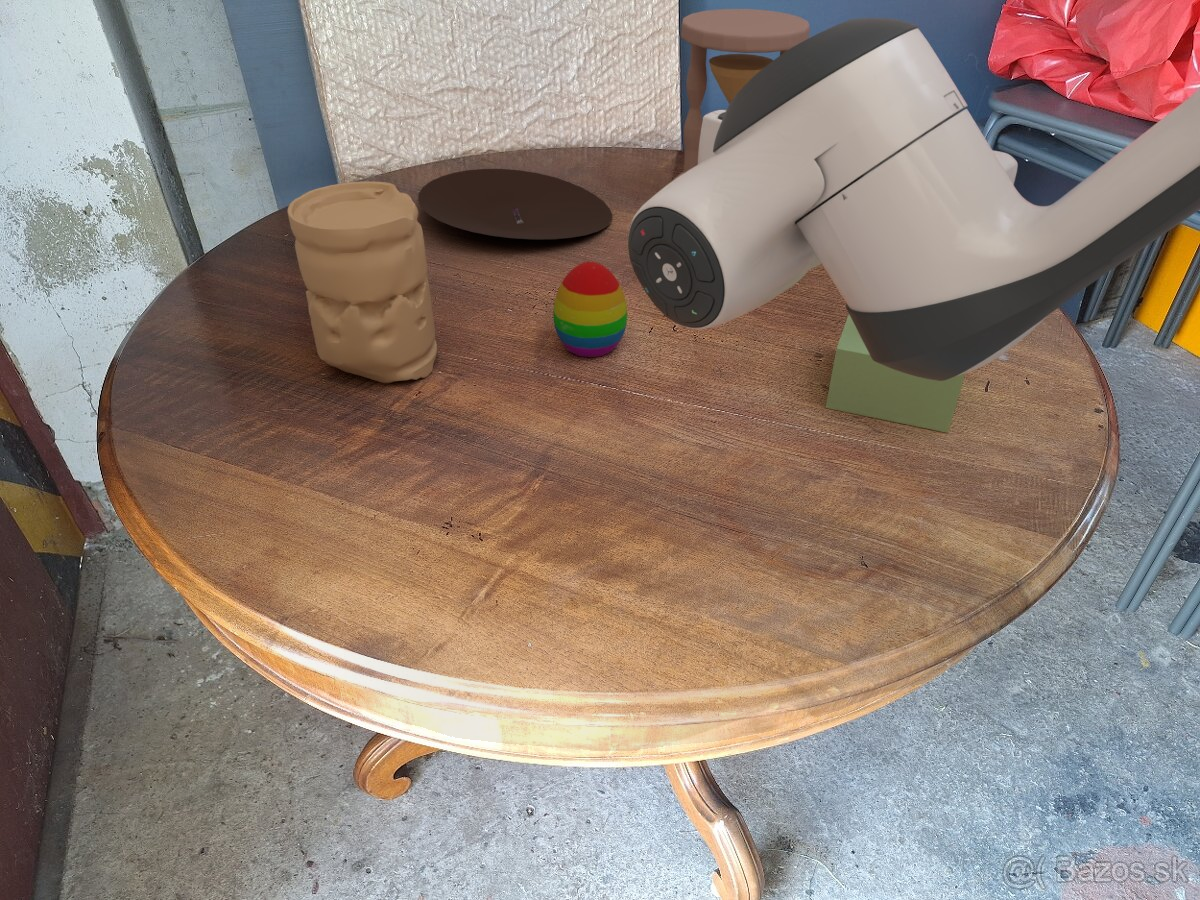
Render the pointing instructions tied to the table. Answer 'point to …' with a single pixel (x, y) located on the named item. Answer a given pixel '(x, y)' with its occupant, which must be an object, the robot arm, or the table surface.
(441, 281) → the table surface
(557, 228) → the plate
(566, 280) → the decorative egg
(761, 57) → the hourglass
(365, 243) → the container
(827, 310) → the table surface
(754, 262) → the robot arm
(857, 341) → the green block
